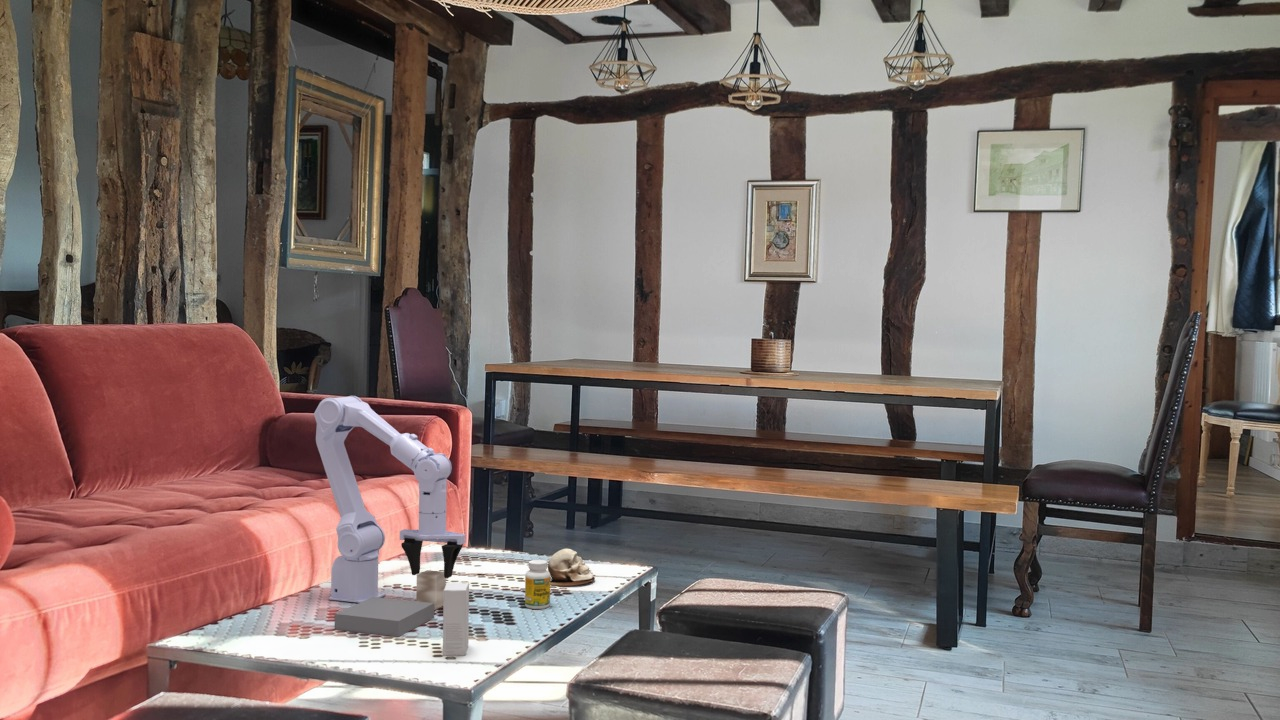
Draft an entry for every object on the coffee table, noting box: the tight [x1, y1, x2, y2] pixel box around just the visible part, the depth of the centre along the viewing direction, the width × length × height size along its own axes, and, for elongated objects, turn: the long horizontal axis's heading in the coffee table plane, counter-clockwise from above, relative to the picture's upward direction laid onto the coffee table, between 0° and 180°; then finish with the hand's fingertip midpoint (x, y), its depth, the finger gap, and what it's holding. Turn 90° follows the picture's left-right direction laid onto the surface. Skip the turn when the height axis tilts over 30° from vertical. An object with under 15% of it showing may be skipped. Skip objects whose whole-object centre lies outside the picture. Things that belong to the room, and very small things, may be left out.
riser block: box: [334, 597, 435, 638], centre depth 203 cm, size 14×14×3 cm
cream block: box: [415, 569, 447, 611], centre depth 217 cm, size 4×4×7 cm
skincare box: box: [442, 581, 470, 657], centre depth 187 cm, size 6×4×12 cm
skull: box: [547, 548, 596, 587], centre depth 242 cm, size 12×10×10 cm
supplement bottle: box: [524, 559, 551, 610], centre depth 219 cm, size 5×5×10 cm
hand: (431, 575), depth 217 cm, fingers open, 7 cm apart
